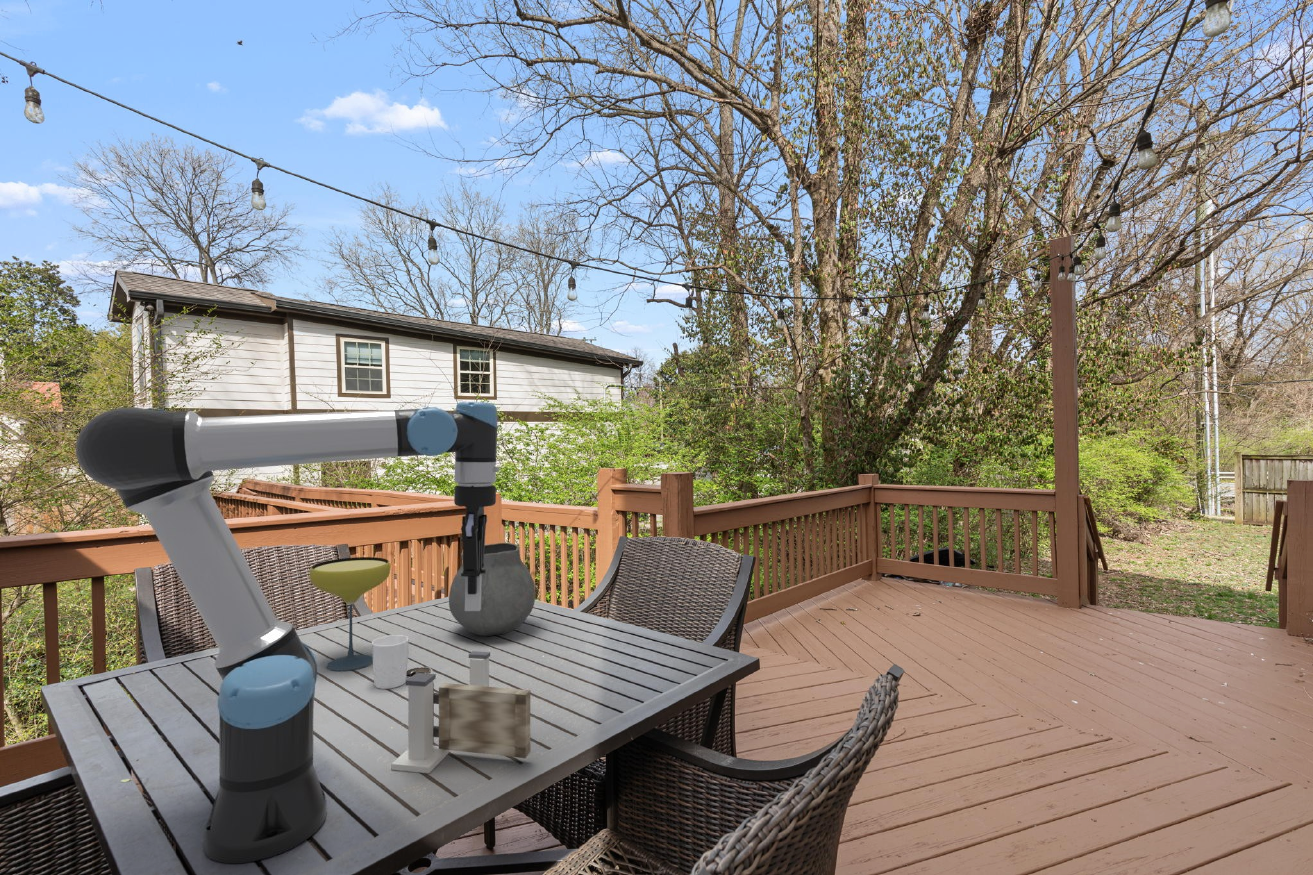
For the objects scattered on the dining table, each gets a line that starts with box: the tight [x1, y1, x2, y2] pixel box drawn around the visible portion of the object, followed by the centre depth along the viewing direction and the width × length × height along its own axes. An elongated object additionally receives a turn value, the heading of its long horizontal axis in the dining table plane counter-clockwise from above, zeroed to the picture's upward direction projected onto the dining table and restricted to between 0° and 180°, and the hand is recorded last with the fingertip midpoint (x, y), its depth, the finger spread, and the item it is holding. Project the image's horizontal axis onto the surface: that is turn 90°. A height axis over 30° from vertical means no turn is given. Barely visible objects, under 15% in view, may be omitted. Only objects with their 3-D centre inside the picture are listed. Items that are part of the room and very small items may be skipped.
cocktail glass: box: [309, 556, 391, 672], centre depth 157 cm, size 18×18×25 cm
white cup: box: [371, 634, 410, 690], centre depth 145 cm, size 8×8×10 cm
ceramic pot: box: [448, 542, 536, 637], centre depth 182 cm, size 24×24×25 cm
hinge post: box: [390, 672, 450, 774], centre depth 110 cm, size 7×7×15 cm
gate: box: [433, 682, 531, 759], centre depth 111 cm, size 20×2×11 cm, turn 79°
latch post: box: [468, 650, 491, 687], centre depth 134 cm, size 6×6×11 cm
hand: (472, 609), depth 118 cm, fingers closed
